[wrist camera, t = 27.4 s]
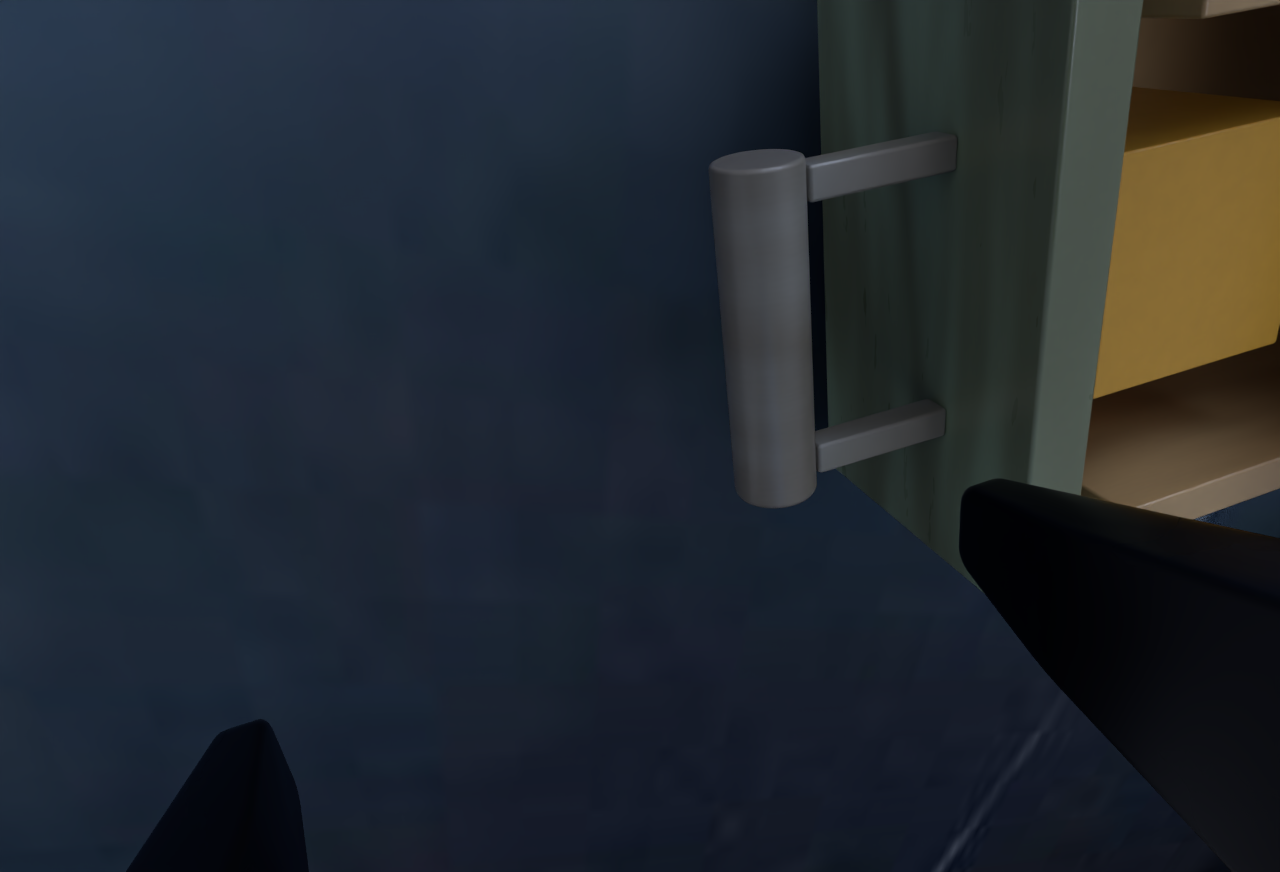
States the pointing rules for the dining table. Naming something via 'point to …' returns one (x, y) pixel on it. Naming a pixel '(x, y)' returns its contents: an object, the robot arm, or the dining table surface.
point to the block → (1192, 237)
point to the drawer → (979, 265)
